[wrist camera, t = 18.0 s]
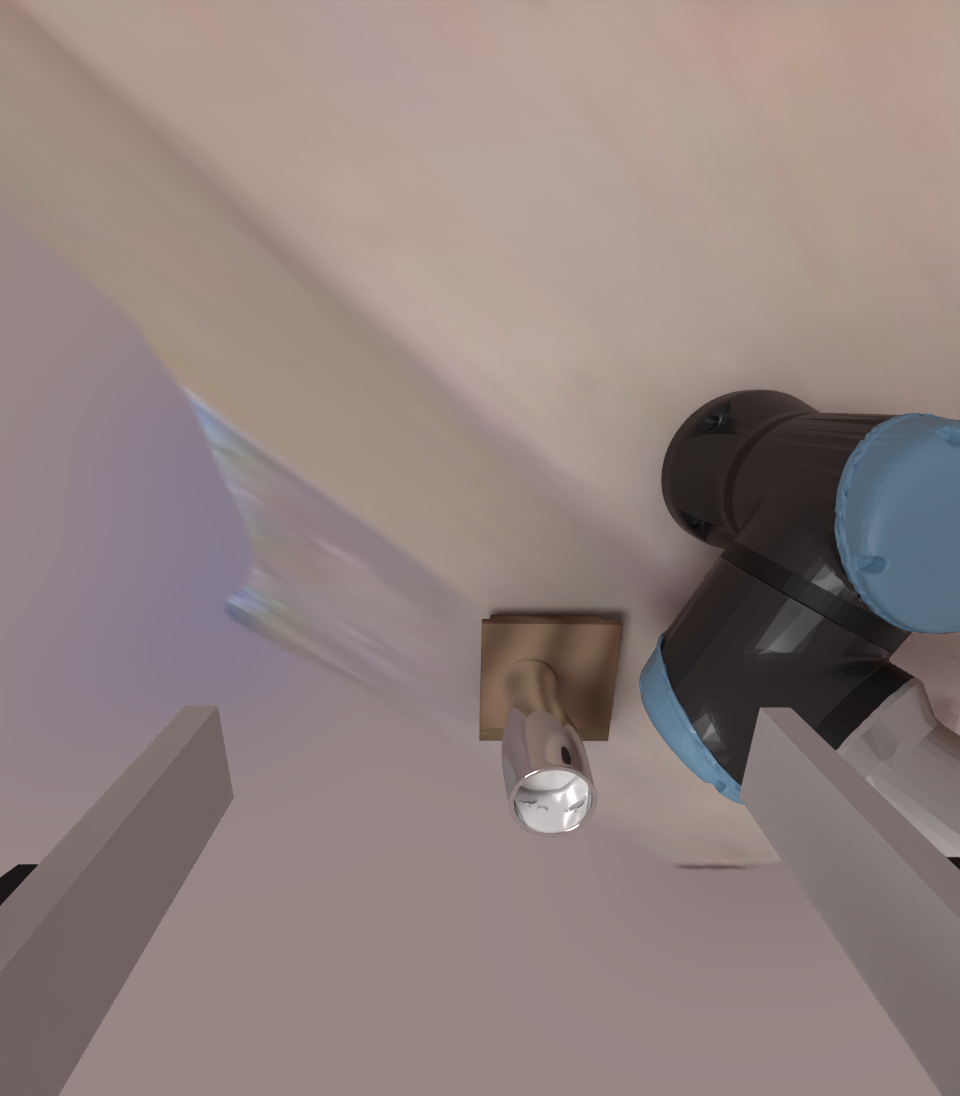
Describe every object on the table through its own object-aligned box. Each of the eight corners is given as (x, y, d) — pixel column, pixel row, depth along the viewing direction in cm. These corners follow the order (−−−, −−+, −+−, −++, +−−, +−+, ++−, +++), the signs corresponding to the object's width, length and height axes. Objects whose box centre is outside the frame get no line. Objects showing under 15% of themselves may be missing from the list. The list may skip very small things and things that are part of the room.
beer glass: (560, 712, 50) (596, 838, 36) (494, 714, 50) (505, 840, 36) (563, 654, 48) (603, 763, 34) (495, 656, 48) (506, 766, 34)
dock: (610, 607, 51) (622, 624, 47) (598, 717, 55) (607, 740, 51) (481, 606, 51) (482, 623, 47) (478, 716, 55) (479, 740, 51)
